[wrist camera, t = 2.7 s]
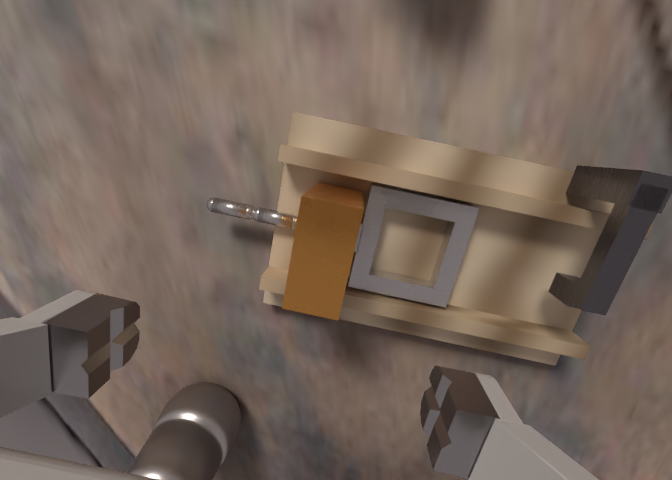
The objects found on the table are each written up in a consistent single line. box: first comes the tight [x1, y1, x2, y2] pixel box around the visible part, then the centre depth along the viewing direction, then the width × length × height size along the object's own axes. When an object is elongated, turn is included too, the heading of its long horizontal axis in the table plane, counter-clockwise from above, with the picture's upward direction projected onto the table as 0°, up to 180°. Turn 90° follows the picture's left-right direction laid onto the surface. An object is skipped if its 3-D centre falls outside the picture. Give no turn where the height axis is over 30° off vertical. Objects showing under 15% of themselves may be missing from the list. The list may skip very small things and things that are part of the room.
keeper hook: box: [548, 166, 672, 315], centre depth 19 cm, size 2×8×5 cm, turn 168°
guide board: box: [259, 112, 653, 366], centre depth 22 cm, size 23×14×4 cm, turn 78°
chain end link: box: [207, 181, 479, 320], centre depth 19 cm, size 18×7×7 cm, turn 78°
